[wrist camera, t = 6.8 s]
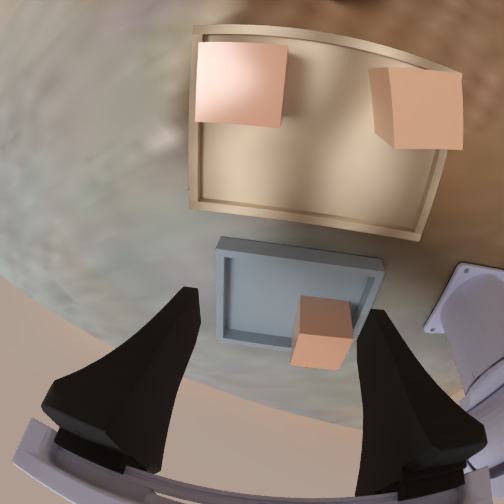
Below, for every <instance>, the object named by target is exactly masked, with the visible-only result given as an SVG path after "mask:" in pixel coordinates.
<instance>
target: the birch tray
mask: <svg viewBox="0 0 504 504" xmlns="http://www.w3.org/2000/svg"><path fill="white" fill-rule="evenodd" d="M199 42H247V43H265V44H277V45H288V48H289V64H288V74H287V84H286V94H285V104H284V114H283V119H282V123H281V126H280V128H272V127H262V126H252V125H240V124H227V123H209V122H195V107H196V81H197V61H198V45H199ZM385 67H393V68H412V69H425V70H435V71H443V72H451V73H458V74H461V73H459V72H457V71H454V70H452V69H450V68H447V67H445V66H442V65H440V64H437V63H435V62H432V61H429V60H427V59H424V58H421V57H418V56H416V55H413V54H410V53H407V52H404V51H400V50H397V49H394V48H390V47H387V46H383V45H380V44H376V43H372V42H368V41H364V40H360V39H355V38H351V37H346V36H341V35H336V34H331V33H325V32H319V31H312V30H305V29H297V28H288V27H277V26H263V25H234V24H222V25H194V26H193V35H192V50H191V69H190V93H189V209H197V210H206V211H214V212H223V213H231V214H239V215H247V216H255V217H263V218H270V219H278V220H285V221H292V222H299V223H306V224H313V225H320V226H327V227H333V228H340V229H346V230H352V231H359V232H365V233H371V234H377V235H383V236H389V237H394V238H400V239H406V240H411V241H417V242H419V240H420V238H421V235H422V232H423V230H424V227H425V224H426V221H427V218H428V215H429V213H430V210H431V207H432V204H433V201H434V197H435V194H436V191H437V188H438V185H439V181H440V178H441V174H442V171H443V167H444V163H445V160H446V156H447V152H448V149H394V148H392V147H391V146H390V145H389V144H388V143H386V142H385V141H384V140H383V139H381V138H380V137H379V136H378V135H376V134H375V132H374V118H373V107H372V97H371V88H370V79H369V72H368V69H370V68H385ZM461 79H462V74H461Z"/></svg>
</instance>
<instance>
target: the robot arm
mask: <svg viewBox="0 0 504 504" xmlns="http://www.w3.org/2000/svg"><path fill="white" fill-rule="evenodd" d="M465 269H466V270H465ZM200 324H201V318H200V307H199V295H198V289H197V288H190V287H183V288H181V289H180V291H179V292H178V293H177V294H176V295H175V296H174V297H173V298H172V299H171V300H170V301H169V302H168V303H167V304H166V305H165V306H164V308H163V309H162V310H161V311H160V312H158V313H157V314H156V315H155V316H154V317H153V318H152V319H151V320H150V321H149V322H148V323H147V324H146V325H145V326H144V327H142V328H141V329H140V330H139V331H138V332H137V333H136V334H134V335H133V336H132V337H131V338H130V339H128V340H127V341H126V342H124V343H123V344H122V345H120V346H119V347H118V348H116V349H115V350H113V351H112V352H110V353H109V354H107V355H106V356H104V357H103V358H101V359H99V360H98V361H96V362H94V363H92V364H90V365H88V366H86V367H85V368H83V369H81V370H79V371H77V372H74V373H72V374H70V375H67V376H65V377H62V378H60V379H57V380H55V381H54V382H53V384H52V385H51V387H50V389H49V391H48V393H47V395H46V397H45V399H44V401H43V402H42V404H41V407H42V410H43V411H44V412H45V413H46V414H47V415H48V416H49V417H50V418H51V419H52V420H53V421H54V422H55V423H56V424H57V425H58V426H59V427H60V428H59V430H58V432H56V431H55V430H53V429H52V428H50V427H48V426H46V425H45V424H43V423H41V422H39V421H38V420H36V419H34V418H31V420H30V422H29V424H28V426H27V428H26V430H25V432H24V434H23V437H22V439H21V441H20V443H19V445H18V448H17V450H16V452H15V454H14V457H13V459H12V463H13V464H14V465H15V466H17V467H18V468H19V469H21V470H22V471H24V472H25V473H27V474H28V475H29V476H31V477H32V478H34V479H35V480H37V481H39V482H40V483H41V484H43V485H44V486H46V487H47V488H49V489H50V490H52V491H54V492H55V493H57V494H58V495H60V496H62V497H63V498H65V499H67V500H68V501H70V502H72V503H74V504H184V503H181V502H178V501H174V500H171V499H167V498H165V497H161V496H159V495H156V493H155V492H158V493H161V494H165V495H168V496H172V497H176V498H180V499H184V500H188V501H192V502H197V503H202V504H493V502H492V498H498V499H503V500H504V270H501V269H496V268H490V267H485V266H479V265H474V264H468V263H460V264H458V266H457V267H456V269H455V271H454V273H453V275H452V277H451V279H450V281H449V283H448V285H447V287H446V289H445V291H444V292H443V294H442V296H441V298H440V300H439V302H438V303H437V305H436V307H435V309H434V310H433V312H432V314H431V316H430V317H429V319H428V321H427V322H426V324H425V325H424V327H423V329H424V332H425V333H442V334H445V335H446V337H447V340H448V343H449V346H450V349H451V351H452V354H453V357H454V360H455V363H456V366H457V369H458V373H459V376H460V379H461V383H462V386H463V389H464V393H465V397H464V398H463V399H462V400H460V401H459V405H460V406H459V405H458V404H456V403H455V402H454V401H453V400H452V399H451V398H450V397H449V396H448V395H447V394H446V393H445V392H444V391H443V390H442V389H441V388H440V387H439V386H438V385H437V384H436V382H435V381H434V380H433V379H432V378H431V377H430V375H429V374H428V373H427V372H426V371H425V369H424V368H423V367H422V365H421V364H420V363H419V361H418V360H417V359H416V357H415V356H414V354H413V353H412V352H411V350H410V349H409V347H408V346H407V344H406V343H405V341H404V340H403V338H402V337H401V335H400V334H399V332H398V331H397V329H396V328H395V326H394V324H393V323H392V321H391V320H390V318H389V317H388V315H387V314H386V312H385V311H384V310H378V309H371V310H370V312H369V314H368V317H367V319H366V321H365V324H364V326H363V328H362V330H361V332H360V335H359V337H358V339H357V364H358V371H359V379H360V387H361V395H362V403H363V441H362V453H361V461H360V470H359V475H358V481H357V487H356V491H355V497H346V498H284V497H269V496H259V495H250V494H241V493H235V492H228V491H222V490H216V489H211V488H206V487H201V486H196V485H192V484H188V483H183V482H180V481H175V480H172V479H168V478H165V477H161V476H158V475H154V474H155V473H158V472H159V471H161V466H162V459H163V453H164V447H165V442H166V437H167V432H168V427H169V423H170V418H171V414H172V409H173V406H174V402H175V398H176V394H177V391H178V387H179V385H180V382H181V380H182V377H183V374H184V372H185V369H186V367H187V364H188V362H189V359H190V356H191V354H192V351H193V349H194V346H195V343H196V340H197V336H198V332H199V328H200ZM463 470H465V472H466V474H464V472H463Z"/></svg>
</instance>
